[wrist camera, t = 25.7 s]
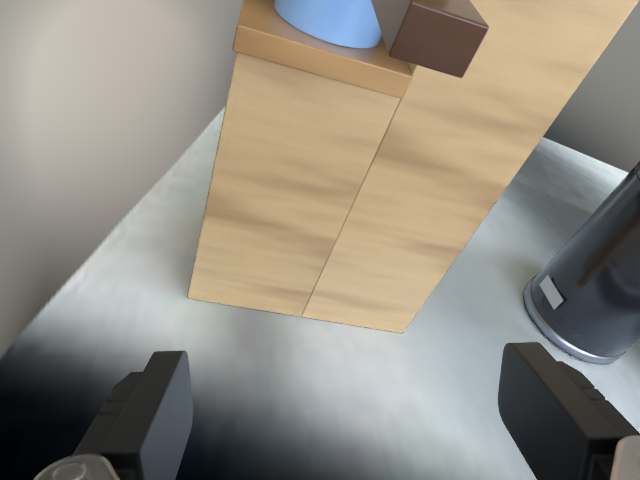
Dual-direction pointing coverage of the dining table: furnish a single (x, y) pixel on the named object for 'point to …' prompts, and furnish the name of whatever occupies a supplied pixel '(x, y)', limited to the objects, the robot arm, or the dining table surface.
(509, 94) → the step stand
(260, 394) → the dining table surface
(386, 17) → the pale blue saucepan
